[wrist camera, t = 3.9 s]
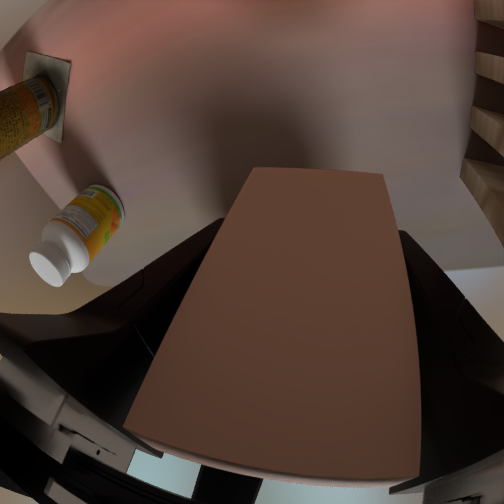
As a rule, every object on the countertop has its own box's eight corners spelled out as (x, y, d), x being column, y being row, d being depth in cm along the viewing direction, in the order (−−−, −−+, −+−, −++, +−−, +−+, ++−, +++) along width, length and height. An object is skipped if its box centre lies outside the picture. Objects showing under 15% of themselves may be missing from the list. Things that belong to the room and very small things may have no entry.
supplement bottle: (113, 235, 31) (61, 300, 23) (79, 203, 29) (21, 262, 22) (134, 209, 27) (74, 280, 20) (95, 172, 26) (27, 234, 18)
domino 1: (377, 209, 11) (388, 487, 4) (257, 201, 13) (155, 449, 5) (382, 174, 10) (418, 475, 3) (253, 167, 12) (123, 427, 4)
